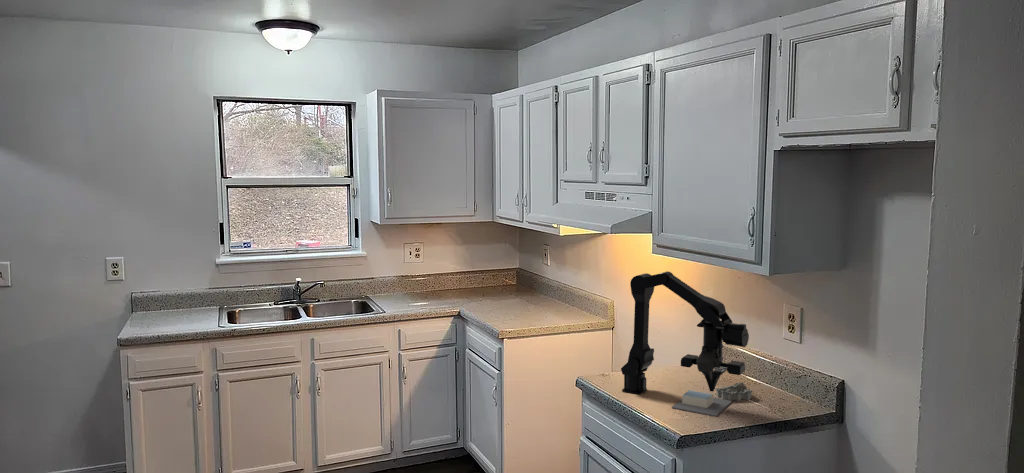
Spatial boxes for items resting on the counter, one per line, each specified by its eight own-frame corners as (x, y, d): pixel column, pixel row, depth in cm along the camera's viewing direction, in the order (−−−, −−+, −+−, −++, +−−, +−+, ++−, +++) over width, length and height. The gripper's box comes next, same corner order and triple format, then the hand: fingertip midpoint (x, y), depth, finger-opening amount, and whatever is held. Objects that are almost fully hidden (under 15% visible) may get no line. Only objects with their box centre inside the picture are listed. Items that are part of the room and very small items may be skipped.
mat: (671, 408, 221) (671, 407, 221) (689, 394, 234) (689, 393, 234) (716, 416, 213) (716, 415, 213) (732, 401, 226) (732, 400, 226)
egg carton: (743, 393, 236) (744, 381, 235) (754, 400, 228) (755, 388, 228) (713, 395, 234) (713, 383, 234) (723, 402, 227) (723, 390, 226)
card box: (706, 408, 220) (682, 403, 224) (713, 402, 225) (688, 398, 229) (707, 399, 219) (682, 394, 224) (713, 394, 224) (688, 390, 229)
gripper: (674, 343, 219) (673, 393, 220) (735, 352, 208) (734, 403, 210) (687, 336, 228) (686, 383, 229) (746, 344, 217) (745, 393, 219)
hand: (711, 391), depth 222 cm, fingers closed
